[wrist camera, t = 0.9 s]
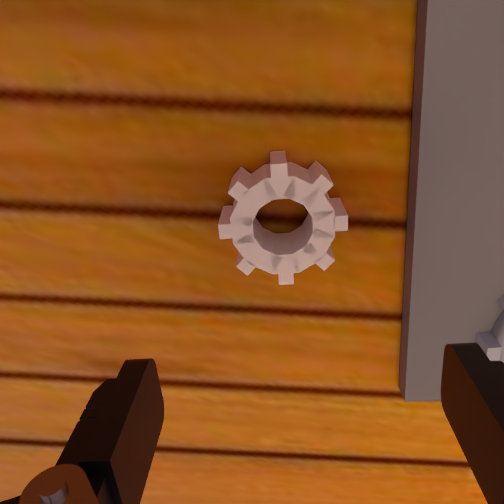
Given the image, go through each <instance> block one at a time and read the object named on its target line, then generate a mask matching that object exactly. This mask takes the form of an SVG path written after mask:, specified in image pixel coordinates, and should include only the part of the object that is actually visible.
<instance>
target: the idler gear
mask: <svg viewBox="0 0 504 504" xmlns="http://www.w3.org/2000/svg"><path fill="white" fill-rule="evenodd" d="M333 185H334V184H333V182H332V180H331V178H330V176H329V174H328V171H327V169H325V168H324V167H323V166H322V165H321V164H320V163H319V162H317V161H316V160H315V162H314V163H313V164H312V165H311V166H310V167H309V168H308V169H306V168H303V167H301V166H299V165H297V164H295V163H293V162H287V160H286V153H285V150H280V151H270V163H269V164H264V165H263V166H261V167H260V168H259V169H257V170H256V171H254V172H253V173H251V174H250V173H249V172H248V171H247V170H245V169H244V168H243V167H242V166H241V167H240V168H239V169H238V171H237V172H236V173H235V174H234V175H233V176H232V179H231V182H230V186H229V190H228V194H229V195H231V196H232V197H233V198H234V202H233V205H229V206H223V209H222V212H221V216H220V219H219V223H218V229H219V237H220V239H232V240H233V244H234V246H235V247H236V248H237V250H238V257H237V263H236V267H237V268H238V269H239V270H241V271H242V272H243V273H245V274H246V275H247V276H248V275H249V274H250V273H251V272H252V271H253V270H254V269H255V268H256V267H257V268H259V269H261V270H263V271H266V272H268V273H270V274H278V278H279V285H287V284H294V274H293V273H300V272H301V271H303V270H305V269H306V268H308V267H310V266H311V265H313V264H316V265H318V266H319V267H320V268H321V269H323V270H324V271H325V270H326V269H327V268H328V267H329V266H330V265H331V264H332V263H333V262H334V261H335V258H334V255H333V252H332V249H331V243H332V241H333V239H334V238H335V231H347V230H348V215H347V212H346V210H345V208H344V206H343V204H342V202H341V199H340V197H336V198H330V197H329V195H328V193H327V191H328V190H329V189H330V188H331V187H332V186H333ZM276 199H291V200H293V201H296V202H298V203H300V204H302V205H304V206H305V208H306V209H307V211H308V215H307V217H306V218H305V220H304V222H303V224H302V225H301V226H300V227H298V228H297V229H295V230H293V231H292V232H290V233H277V234H276V233H274V232H271V231H269V230H267V229H265V228H263V227H262V225H261V224H260V223H259V221H258V220H257V219H256V217H255V216H256V214H257V212H258V210H259V208H261V207H262V206H264V205H265V204H267V203H268V202H270V201H272V200H276Z"/></svg>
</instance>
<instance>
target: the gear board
mask: <svg viewBox="0 0 504 504" xmlns="http://www.w3.org/2000/svg"><path fill="white" fill-rule="evenodd" d="M473 342H476V343H478V344H479V346H480V347H481V348H482V350H483V351H484V353H485V354H486V355H487V357H488V358H489V360H490V361H499V360H500V361H502V362H503V363H504V0H418V9H417V29H416V49H415V69H414V89H413V109H412V129H411V149H410V169H409V189H408V209H407V229H406V249H405V269H404V289H403V309H402V329H401V349H400V369H399V388H400V391H401V393H402V396H403V398H404V401H405V402H406V401H429V400H441V378H442V367H443V356H444V348H445V346H446V344H454V343H473Z"/></svg>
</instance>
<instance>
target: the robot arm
mask: <svg viewBox="0 0 504 504" xmlns="http://www.w3.org/2000/svg"><path fill="white" fill-rule="evenodd" d="M441 401H442V406H443V410H444V412H445V415H446V417H447V419H448V421H449V423H450V425H451V427H452V429H453V431H454V434H455V436H456V438H457V440H458V442H459V444H460V446H461V448H462V450H463V452H464V455H465V457H466V459H467V461H468V463H469V465H470V467H471V469H472V471H473V473H474V475H475V478H476V480H477V482H478V484H479V486H480V488H481V490H482V492H483V494H484V496H485V499H486V501H487V503H488V504H504V363H503V362H502V361H500V360H499V361H490V360H489V358H488V357H487V355H486V354H485V353H484V351H483V350H482V348H481V347H480V346H479V344H478V343H476V342H473V343H454V344H446V346H445V348H444V356H443V367H442V378H441ZM163 419H164V402H163V397H162V392H161V387H160V383H159V378H158V373H157V368H156V364H155V361H154V360H153V359H133V360H126V361H125V362H124V363H123V366H122V368H121V370H120V372H119V374H118V376H117V378H116V379H107V380H106V381H105V382H103V383H102V384H101V385H100V386H99V387H98V388H97V389H96V390H95V391H94V392H93V394H92V396H91V398H90V400H89V401H88V403H87V405H86V409H84V411H83V413H82V415H81V417H80V421H79V422H78V423H77V425H76V427H75V429H74V430H73V432H72V434H71V436H70V438H69V440H68V442H67V444H66V446H65V448H64V450H63V452H62V454H61V456H60V458H59V459H58V461H57V463H56V465H55V466H54V467H51V468H49V469H46V470H45V471H43V472H41V473H40V474H38V475H37V476H36V477H34V478H33V479H32V480H31V481H30V482H29V483H28V485H27V486H26V487H25V489H24V490H23V492H22V494H21V495H20V496H18V497H15V498H12V499H9V500H5V501H2V502H0V504H140V501H141V498H142V494H143V491H144V487H145V484H146V480H147V477H148V473H149V470H150V466H151V463H152V459H153V456H154V453H155V449H156V446H157V442H158V439H159V435H160V432H161V428H162V425H163Z"/></svg>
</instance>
